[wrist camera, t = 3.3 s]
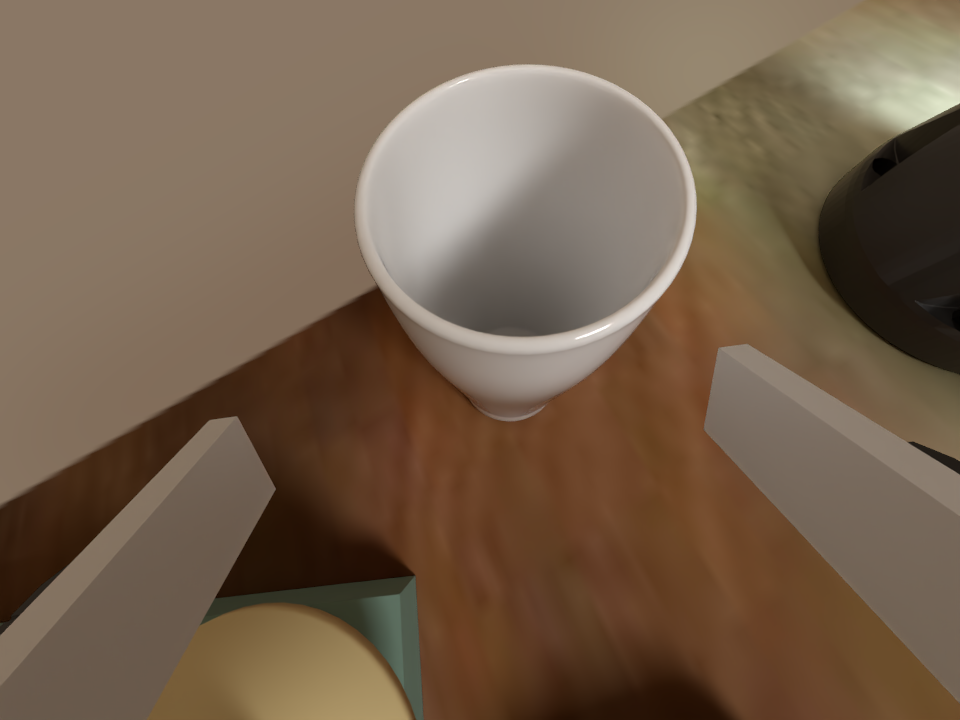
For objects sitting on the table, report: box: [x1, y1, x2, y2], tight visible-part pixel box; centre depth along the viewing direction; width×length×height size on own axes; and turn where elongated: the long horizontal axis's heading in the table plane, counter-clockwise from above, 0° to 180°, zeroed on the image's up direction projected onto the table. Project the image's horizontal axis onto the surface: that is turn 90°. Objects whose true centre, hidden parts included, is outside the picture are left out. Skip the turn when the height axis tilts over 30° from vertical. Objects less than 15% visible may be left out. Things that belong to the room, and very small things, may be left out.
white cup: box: [354, 64, 697, 421], centre depth 14 cm, size 7×7×15 cm
